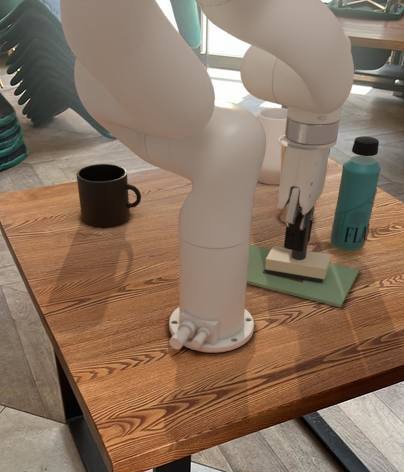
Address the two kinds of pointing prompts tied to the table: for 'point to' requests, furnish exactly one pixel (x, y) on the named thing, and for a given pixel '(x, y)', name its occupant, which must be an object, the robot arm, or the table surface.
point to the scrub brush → (298, 260)
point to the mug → (105, 195)
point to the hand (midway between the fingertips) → (296, 244)
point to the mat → (301, 280)
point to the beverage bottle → (356, 196)
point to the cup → (272, 143)
